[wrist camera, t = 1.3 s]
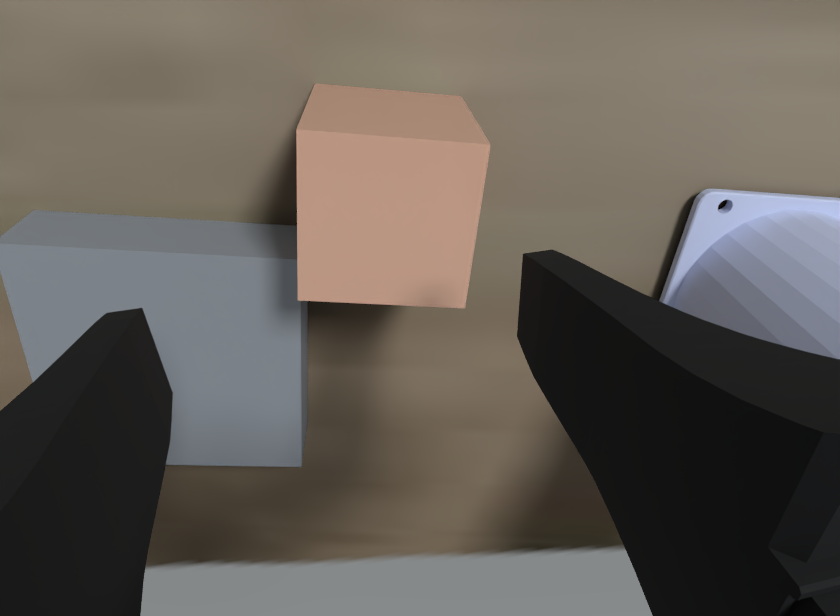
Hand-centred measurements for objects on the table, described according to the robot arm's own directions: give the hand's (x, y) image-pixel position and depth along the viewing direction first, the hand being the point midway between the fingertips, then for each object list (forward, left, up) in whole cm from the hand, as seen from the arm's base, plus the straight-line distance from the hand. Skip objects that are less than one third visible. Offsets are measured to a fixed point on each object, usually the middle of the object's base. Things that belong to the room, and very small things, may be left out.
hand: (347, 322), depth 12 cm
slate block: (+6, +7, -10) cm, 14 cm away
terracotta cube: (-1, 0, -10) cm, 10 cm away
